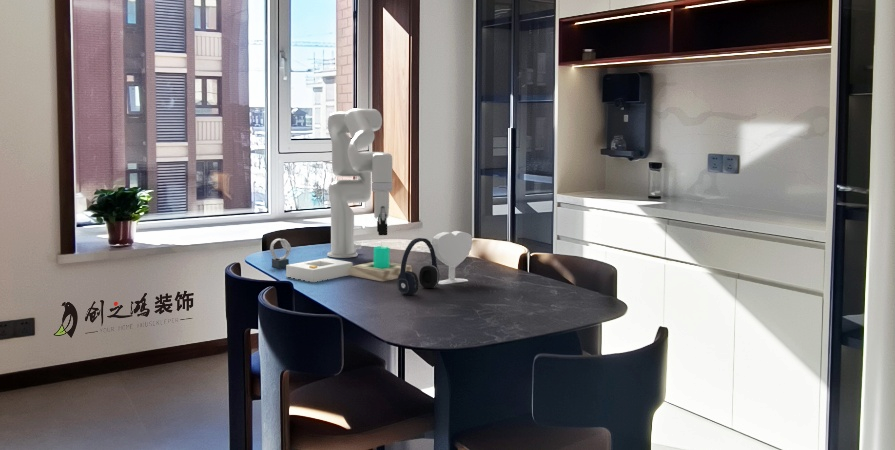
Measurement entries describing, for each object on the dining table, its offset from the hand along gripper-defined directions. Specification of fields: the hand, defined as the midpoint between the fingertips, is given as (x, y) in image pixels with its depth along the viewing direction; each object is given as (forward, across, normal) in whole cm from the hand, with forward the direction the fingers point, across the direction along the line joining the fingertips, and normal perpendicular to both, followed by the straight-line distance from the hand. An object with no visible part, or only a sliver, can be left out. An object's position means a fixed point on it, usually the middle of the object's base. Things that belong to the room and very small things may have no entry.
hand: (382, 233), depth 321 cm
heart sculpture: (+16, +11, +24) cm, 32 cm away
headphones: (+17, +28, +11) cm, 34 cm away
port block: (+16, -1, -23) cm, 28 cm away
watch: (+15, -19, -38) cm, 46 cm away
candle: (+16, -1, 0) cm, 16 cm away
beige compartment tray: (+16, -1, 0) cm, 16 cm away
